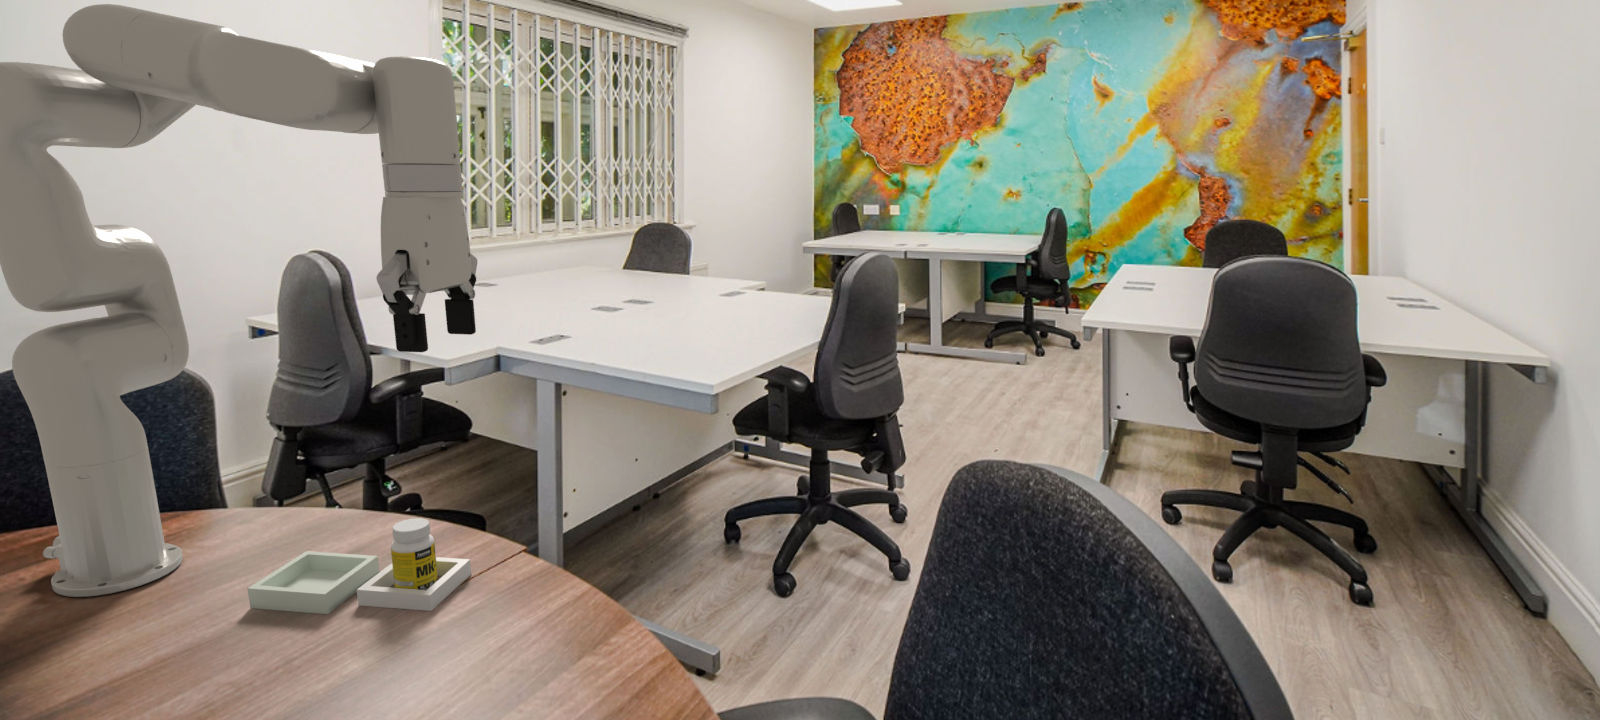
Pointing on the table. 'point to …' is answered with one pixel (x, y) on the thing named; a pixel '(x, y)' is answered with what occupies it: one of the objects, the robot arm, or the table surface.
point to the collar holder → (384, 596)
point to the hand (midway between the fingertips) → (438, 342)
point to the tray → (313, 582)
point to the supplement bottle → (413, 555)
